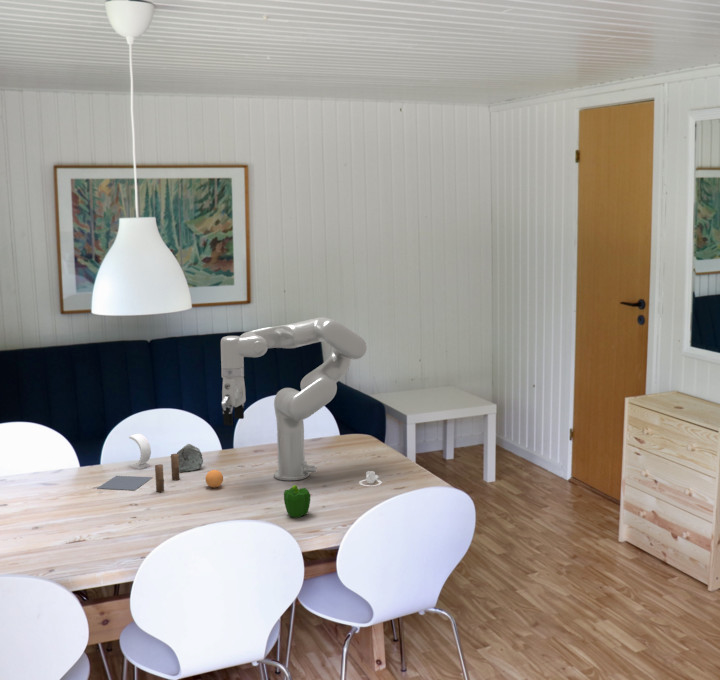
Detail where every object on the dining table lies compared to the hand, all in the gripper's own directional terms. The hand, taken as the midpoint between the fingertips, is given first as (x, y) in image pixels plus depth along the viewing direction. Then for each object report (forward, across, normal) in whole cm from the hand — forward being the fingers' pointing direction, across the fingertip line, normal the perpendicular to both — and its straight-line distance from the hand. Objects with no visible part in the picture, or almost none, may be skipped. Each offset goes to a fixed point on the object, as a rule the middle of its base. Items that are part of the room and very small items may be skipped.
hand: (233, 421), depth 278 cm
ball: (+20, -4, +6) cm, 21 cm away
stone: (+23, +15, +24) cm, 36 cm away
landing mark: (+23, -5, +39) cm, 46 cm away
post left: (+23, -11, +23) cm, 34 cm away
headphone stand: (+23, +14, +43) cm, 51 cm away
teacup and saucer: (+22, +12, -48) cm, 55 cm away
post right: (+23, +2, +24) cm, 33 cm away
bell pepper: (+22, -24, -30) cm, 44 cm away
